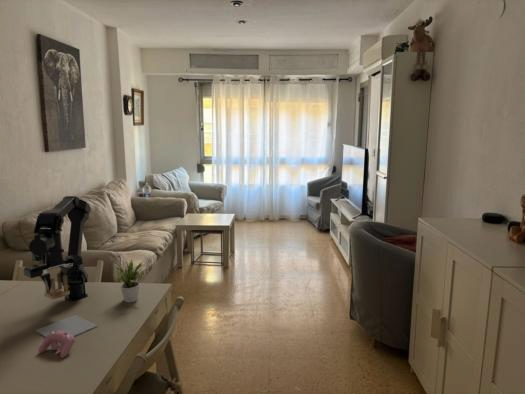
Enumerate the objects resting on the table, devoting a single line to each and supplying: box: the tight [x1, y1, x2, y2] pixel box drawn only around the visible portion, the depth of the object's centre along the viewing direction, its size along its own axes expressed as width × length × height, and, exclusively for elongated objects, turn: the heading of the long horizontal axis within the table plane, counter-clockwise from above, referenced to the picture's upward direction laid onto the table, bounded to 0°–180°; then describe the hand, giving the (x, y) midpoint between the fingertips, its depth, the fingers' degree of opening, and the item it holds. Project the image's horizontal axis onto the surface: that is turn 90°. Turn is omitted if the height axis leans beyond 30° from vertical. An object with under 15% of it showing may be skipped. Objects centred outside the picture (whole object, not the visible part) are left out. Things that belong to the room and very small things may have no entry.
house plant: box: [114, 258, 149, 303], centre depth 156 cm, size 14×14×16 cm
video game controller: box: [38, 331, 76, 359], centre depth 121 cm, size 10×5×7 cm, turn 71°
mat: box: [35, 314, 98, 344], centre depth 135 cm, size 14×14×1 cm
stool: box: [44, 272, 70, 301], centre depth 144 cm, size 6×6×7 cm
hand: (56, 288), depth 144 cm, fingers closed on stool, 5 cm apart
